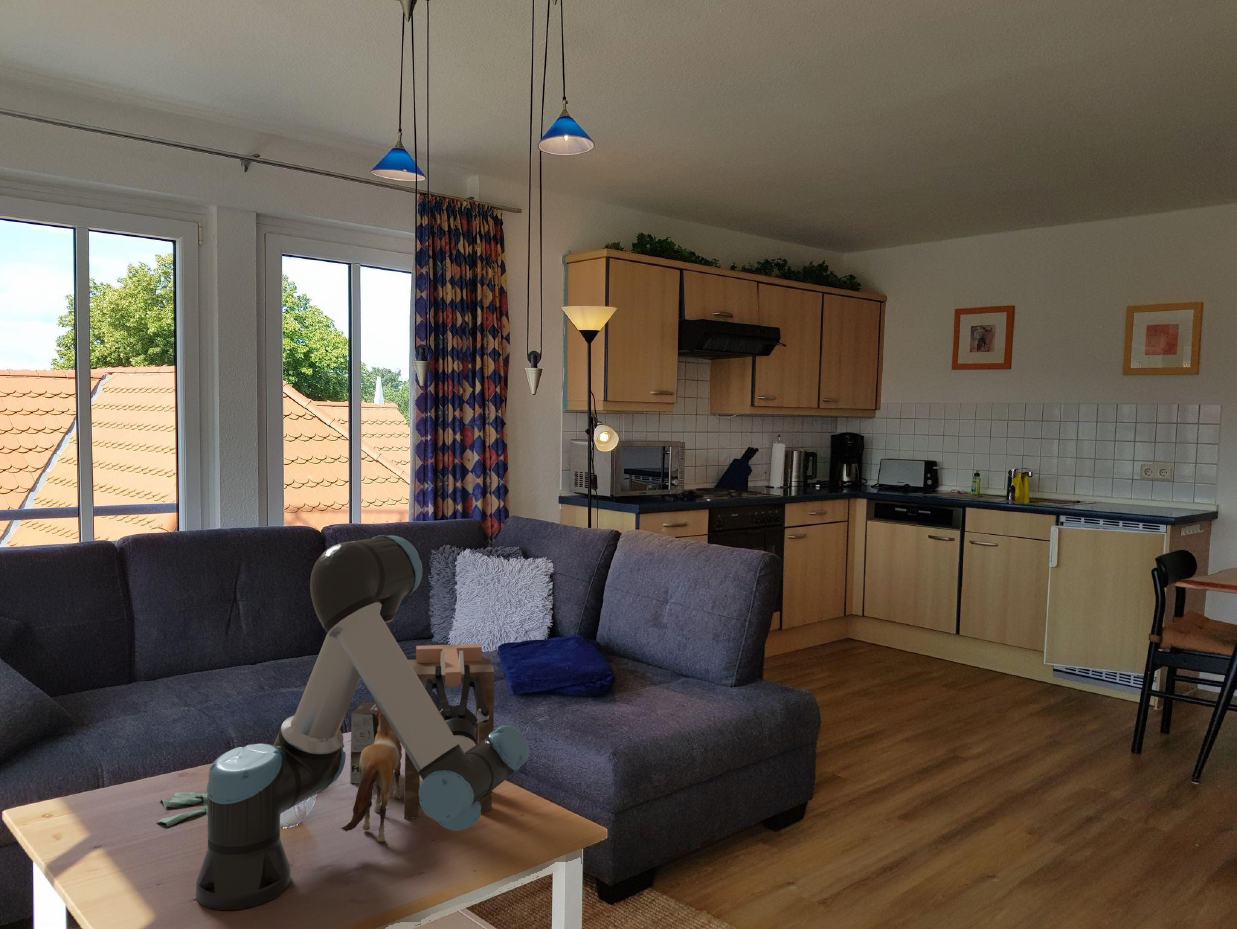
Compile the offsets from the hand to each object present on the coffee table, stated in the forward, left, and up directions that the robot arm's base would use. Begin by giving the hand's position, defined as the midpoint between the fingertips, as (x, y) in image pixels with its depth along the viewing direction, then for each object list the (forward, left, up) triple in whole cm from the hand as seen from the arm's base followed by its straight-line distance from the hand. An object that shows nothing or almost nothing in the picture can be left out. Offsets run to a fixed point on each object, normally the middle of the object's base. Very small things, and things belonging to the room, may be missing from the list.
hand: (451, 655), depth 182 cm
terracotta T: (0, +3, -4) cm, 5 cm away
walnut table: (0, +8, -34) cm, 35 cm away
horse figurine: (-17, +2, -35) cm, 38 cm away
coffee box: (-17, +26, -34) cm, 47 cm away
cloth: (-53, +14, -35) cm, 65 cm away
